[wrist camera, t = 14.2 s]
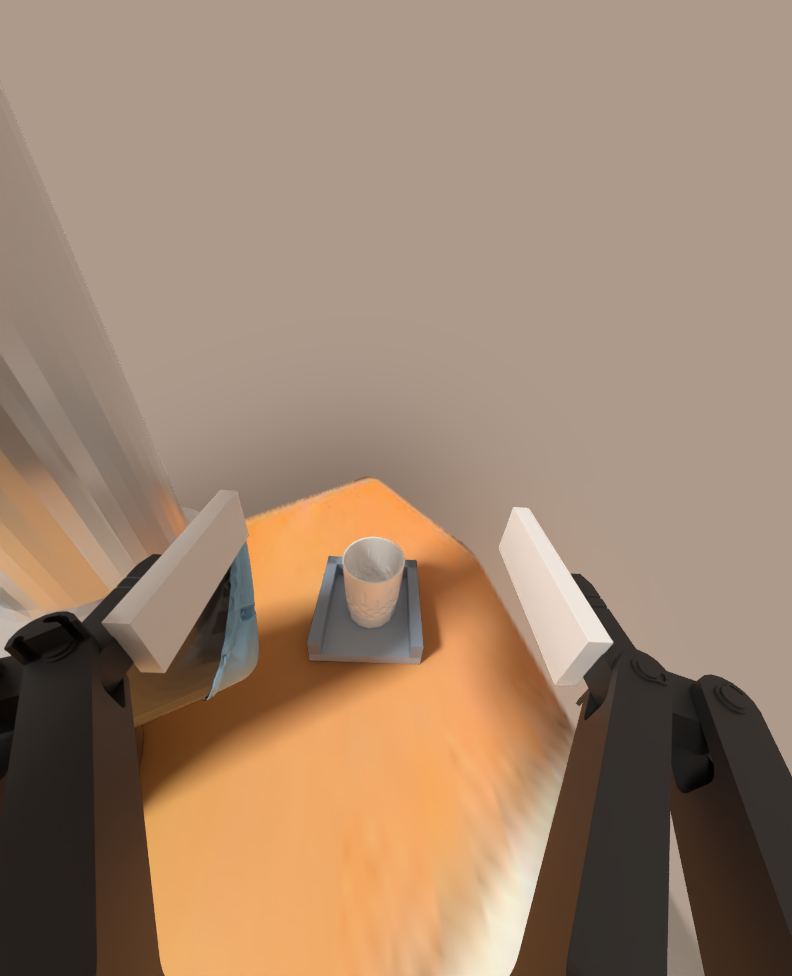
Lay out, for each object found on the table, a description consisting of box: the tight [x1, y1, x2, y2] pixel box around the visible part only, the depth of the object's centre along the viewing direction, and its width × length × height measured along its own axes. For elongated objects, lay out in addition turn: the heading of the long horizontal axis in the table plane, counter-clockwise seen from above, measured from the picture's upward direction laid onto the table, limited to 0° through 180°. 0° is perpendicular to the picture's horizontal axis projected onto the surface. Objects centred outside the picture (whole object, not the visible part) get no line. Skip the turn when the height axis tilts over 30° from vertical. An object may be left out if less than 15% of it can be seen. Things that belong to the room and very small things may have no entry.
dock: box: [307, 556, 423, 664], centre depth 42 cm, size 14×14×4 cm
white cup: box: [342, 537, 405, 628], centre depth 40 cm, size 8×8×10 cm
